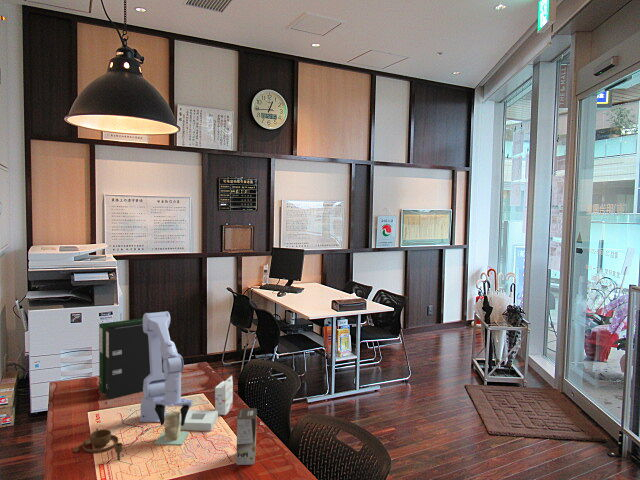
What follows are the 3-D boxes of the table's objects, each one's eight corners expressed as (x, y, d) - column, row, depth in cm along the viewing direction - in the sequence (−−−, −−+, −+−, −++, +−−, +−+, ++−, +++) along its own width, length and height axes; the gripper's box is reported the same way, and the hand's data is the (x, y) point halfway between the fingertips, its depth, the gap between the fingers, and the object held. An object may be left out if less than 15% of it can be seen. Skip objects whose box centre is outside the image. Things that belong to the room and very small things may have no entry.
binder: (155, 378, 243) (155, 316, 241) (167, 386, 232) (168, 322, 230) (99, 390, 225) (99, 323, 223) (109, 400, 214) (109, 329, 212)
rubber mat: (154, 444, 174) (154, 443, 174) (163, 431, 184) (163, 430, 184) (181, 445, 174) (181, 444, 174) (189, 432, 184) (189, 431, 184)
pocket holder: (175, 429, 186) (175, 422, 186) (184, 416, 198) (184, 409, 198) (211, 430, 186) (211, 423, 186) (217, 417, 198) (218, 410, 198)
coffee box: (254, 464, 162) (255, 419, 161) (235, 465, 161) (236, 419, 161) (256, 451, 171) (257, 407, 170) (238, 451, 171) (239, 408, 170)
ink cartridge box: (222, 406, 210) (222, 373, 209) (232, 407, 209) (233, 374, 208) (214, 414, 202) (214, 380, 201) (225, 415, 201) (225, 381, 200)
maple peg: (164, 439, 177) (164, 416, 177) (168, 434, 182) (168, 411, 181) (176, 440, 177) (176, 416, 177) (180, 434, 182) (180, 411, 181)
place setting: (128, 436, 181) (128, 421, 181) (124, 462, 163) (124, 445, 162) (77, 442, 176) (77, 426, 176) (67, 470, 157) (67, 452, 157)
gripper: (149, 392, 174) (149, 428, 175) (189, 393, 174) (188, 429, 175) (156, 385, 181) (156, 420, 182) (194, 386, 181) (194, 421, 182)
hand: (172, 424), depth 179 cm, fingers open, 7 cm apart
